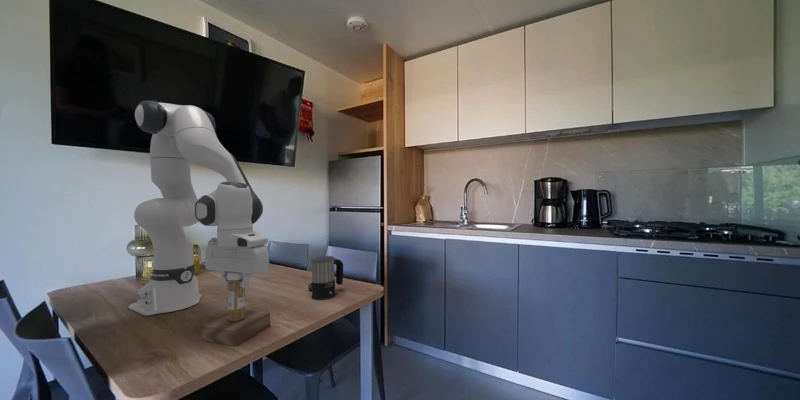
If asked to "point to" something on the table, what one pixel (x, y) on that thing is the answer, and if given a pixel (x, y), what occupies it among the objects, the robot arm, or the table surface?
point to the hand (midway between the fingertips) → (236, 286)
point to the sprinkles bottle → (236, 297)
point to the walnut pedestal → (235, 328)
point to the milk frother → (325, 277)
